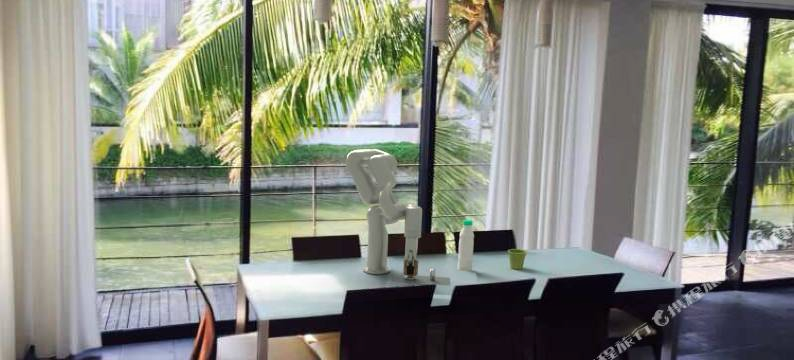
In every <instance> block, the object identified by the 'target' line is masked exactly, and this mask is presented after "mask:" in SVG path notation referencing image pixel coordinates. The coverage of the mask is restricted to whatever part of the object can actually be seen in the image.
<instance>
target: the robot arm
mask: <svg viewBox="0 0 794 360" xmlns="http://www.w3.org/2000/svg"><path fill="white" fill-rule="evenodd" d="M345 166H346V167H345V168H346V170H347V172H348V175H349V176H350V178H351V179H352V181H353V183H354V186H355V188H356V190H357V192H358V195H359V196H360V199H361V200H362V201H361V202H362V203H363V204H364V205H366V206H371V207H369V209H368V210H367V212H366V222H367V254H366V265H365V266H364V267H363V269H362V271H363V272H365V273H366V274H371V275H385V274H388V273H390V272H391V268H389V267H387V266H388V247H389V246H388V245H389V244H388V243H389V234H388V233H389V232H388V229H387V228H386V226H387V225H392V224H396V223H398V222H399V221H403V220H404V230H403V231H404V232H403V238H405V248H404V260H407V259H408V263H407V273H406V274H409V275H413V274H414V260H417V259H416V257H417V255H418V244H419V243H418V242H419V239H420V238H422V223H423V222H422V219H423V209H422V207H421V206H418V205H413V204H411V203H408V202H402V203H401V202H400V203H398V202H397V200H396V197H395V196H394V195H395V194H394V193H393V192H392V189H393V188H395V186H396V185H397V182H398V181H397V179H396V177H395V176H394V173H393V172H395V171H396V170H397V168H398V161H397V158H396V157H395V156H394V155H392V154H390V153H387V152H385V151H382V150H381V149H380V150H379V149H376V148H371V149H370V148H369V149H368V148H367V149H365V148H364V149H355V150H353V151H352V150H351V152H349V153H348V154H347V156H346V159H345ZM368 167H369V169H370V171H371V173H372V175H373V178H374V179H375V181H376V183H375V182H374V181H373V178H372V176H371V175H370V173H369V172H368V171H367V170H366V169H364V168H368ZM412 261H413V262H412Z"/></svg>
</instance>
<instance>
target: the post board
mask: <svg viewBox="0 0 794 360" xmlns="http://www.w3.org/2000/svg"><path fill="white" fill-rule="evenodd" d="M391 282H398V283H413V284H424V285H426V284H427V285H439V286H441V285H442V286H451V277H447V276H445V277H444V276H435V281H430V275H416V280H406V279H405V275H404V274H399V273H394V274H393V275H392V279H391Z"/></svg>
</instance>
